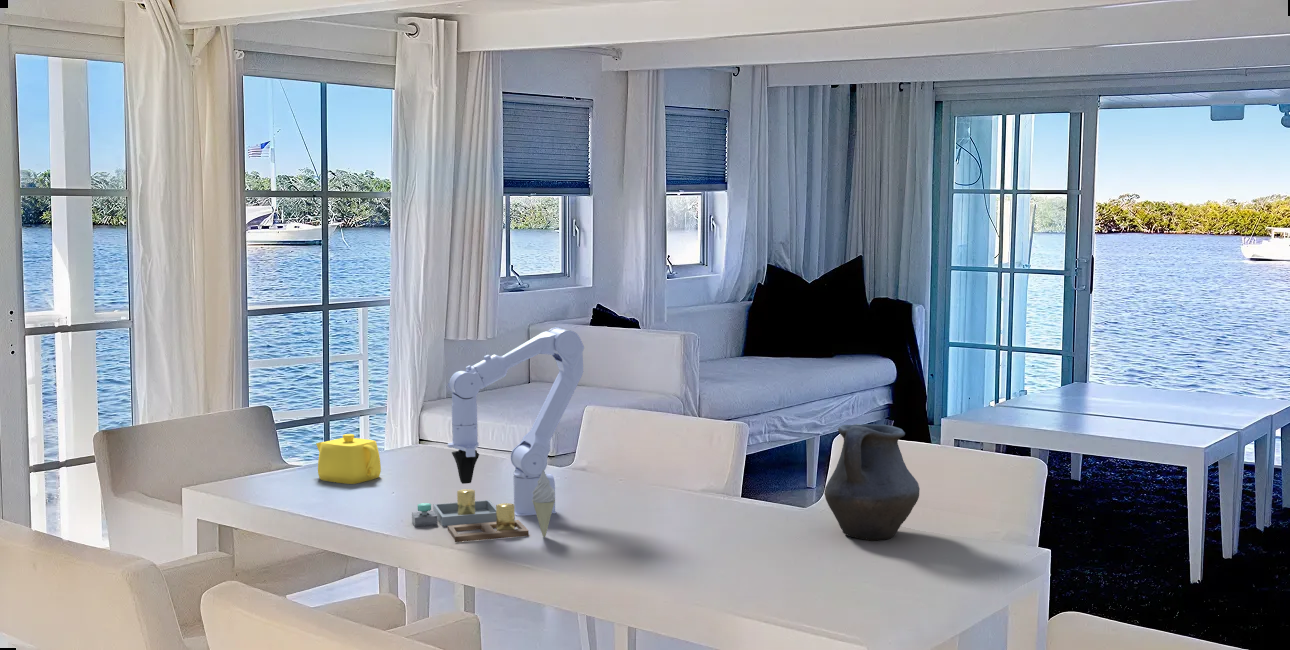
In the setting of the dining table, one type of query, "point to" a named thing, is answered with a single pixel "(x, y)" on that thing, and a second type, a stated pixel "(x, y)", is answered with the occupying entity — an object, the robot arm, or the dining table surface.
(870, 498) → the pitcher
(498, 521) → the cylinder
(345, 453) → the teapot
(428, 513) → the button housing
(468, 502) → the block
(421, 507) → the button
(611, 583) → the dining table surface
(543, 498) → the ice cream cone
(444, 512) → the tray
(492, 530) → the board
